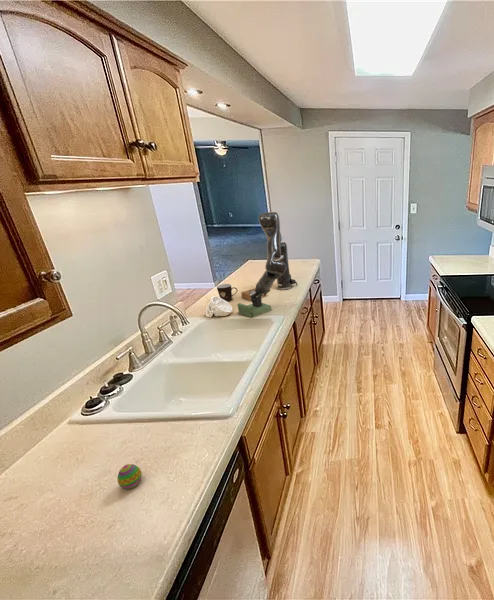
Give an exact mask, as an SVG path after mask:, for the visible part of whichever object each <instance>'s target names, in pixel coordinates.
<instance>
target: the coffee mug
mask: <svg viewBox="0 0 494 600" xmlns="http://www.w3.org/2000/svg"><path fill="white" fill-rule="evenodd" d="M233 289H235V293H233V292H232V291H233ZM216 290H217V292H218V297H220V298H222V299H223V300H225V301H227V302H228V303H229V302H232V300H233V297H234V296H235V295H236V294H237V293H238V288H237V287H232V284H231V283H221V284H218V285H216ZM232 293H233V294H232Z"/></svg>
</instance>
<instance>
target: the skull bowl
mask: <svg viewBox="0 0 494 600" xmlns="http://www.w3.org/2000/svg"><path fill="white" fill-rule="evenodd" d="M233 309H234V308H233V307H232V305H231V304H230V303H229V302H227V301H225V300H223V299H222V298H220V296H212V297H211V298H210V299H209V300H208V302H207V305H206V308H205V309H204V311H205V317H207V318H212V317H213V316H215V317H227V316H228V315H230V314H231V313H232V312H233Z"/></svg>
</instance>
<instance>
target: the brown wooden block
mask: <svg viewBox="0 0 494 600" xmlns="http://www.w3.org/2000/svg"><path fill="white" fill-rule="evenodd" d="M254 290H256V287H254V288H251V289H248V290H245V291H241V293H240V294H241V298H242V299H244V300H247V301H249V302H251V298H250V297H249V293H250V292H252V291H254ZM266 296H267V294H266V295H265V296H262V297H261V298H264V297H266Z"/></svg>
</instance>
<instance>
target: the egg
mask: <svg viewBox="0 0 494 600" xmlns="http://www.w3.org/2000/svg"><path fill="white" fill-rule="evenodd" d="M142 477H143V473H142V469H141V468H140V467H139V466H138V465H137V464H133V463H127V464H125V465H123V466H122V467H121V468H120V469H119V471H118V474H117V483H118V485H119V487H121V488H122V489H124V490H130V489H133V488H135V487H137V486H138V485H139V484H140V483H141V480H142Z"/></svg>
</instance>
